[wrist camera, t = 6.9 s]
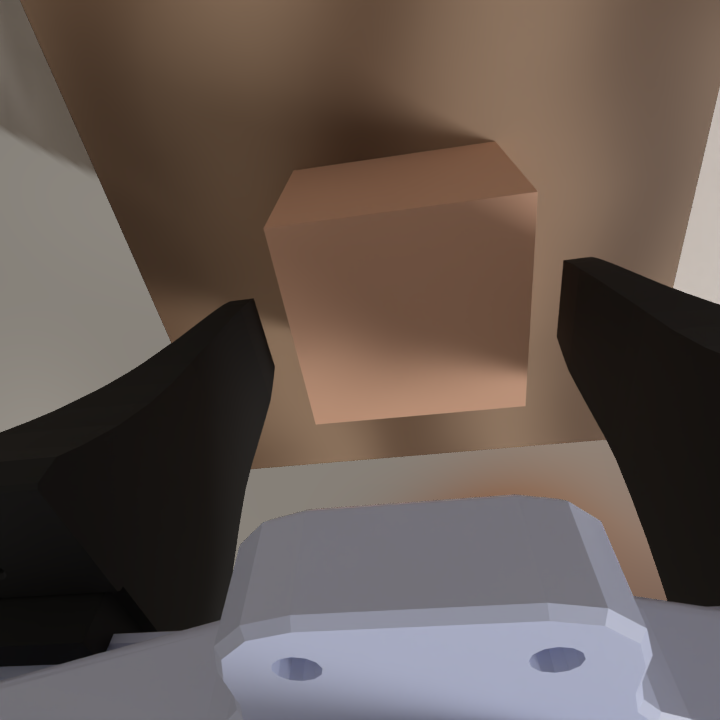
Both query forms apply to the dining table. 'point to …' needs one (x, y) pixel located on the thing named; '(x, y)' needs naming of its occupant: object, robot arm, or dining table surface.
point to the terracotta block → (408, 282)
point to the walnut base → (384, 139)
